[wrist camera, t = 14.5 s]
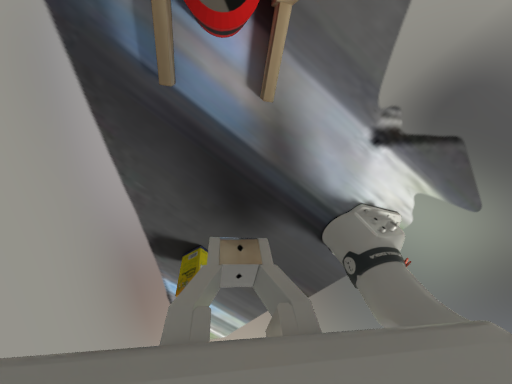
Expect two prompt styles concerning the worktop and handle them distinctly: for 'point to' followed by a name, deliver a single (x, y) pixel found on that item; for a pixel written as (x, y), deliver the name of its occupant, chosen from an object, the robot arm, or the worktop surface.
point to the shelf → (274, 55)
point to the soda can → (222, 15)
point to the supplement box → (191, 266)
